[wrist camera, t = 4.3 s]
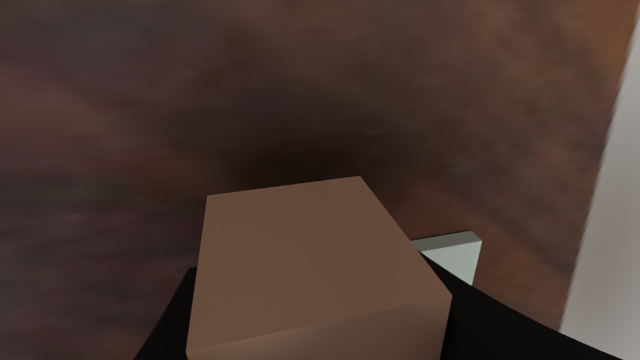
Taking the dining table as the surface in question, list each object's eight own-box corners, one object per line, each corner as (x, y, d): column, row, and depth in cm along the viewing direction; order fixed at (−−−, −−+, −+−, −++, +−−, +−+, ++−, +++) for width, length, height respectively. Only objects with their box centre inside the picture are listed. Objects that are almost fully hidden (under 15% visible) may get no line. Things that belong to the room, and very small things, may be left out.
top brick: (356, 286, 12) (424, 435, 8) (230, 310, 12) (229, 492, 7) (359, 175, 10) (452, 295, 6) (207, 195, 10) (185, 351, 5)
